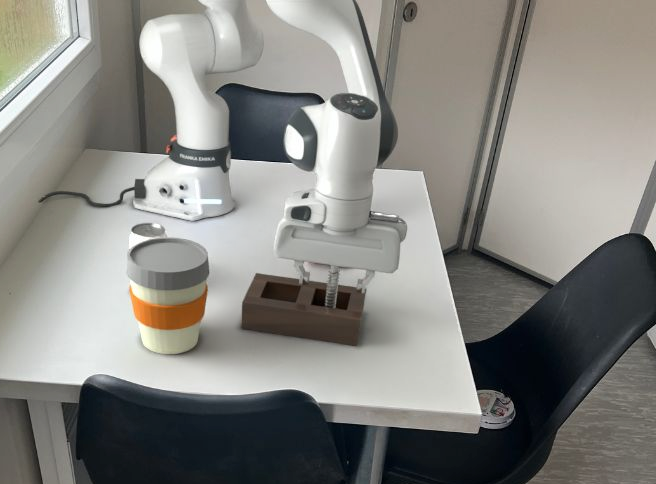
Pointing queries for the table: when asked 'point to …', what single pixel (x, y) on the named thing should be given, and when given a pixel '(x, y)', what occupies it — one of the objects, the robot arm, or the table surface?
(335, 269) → the screw
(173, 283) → the reusable coffee cup
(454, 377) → the table surface
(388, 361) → the table surface
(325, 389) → the table surface
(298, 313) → the holder
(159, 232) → the can
